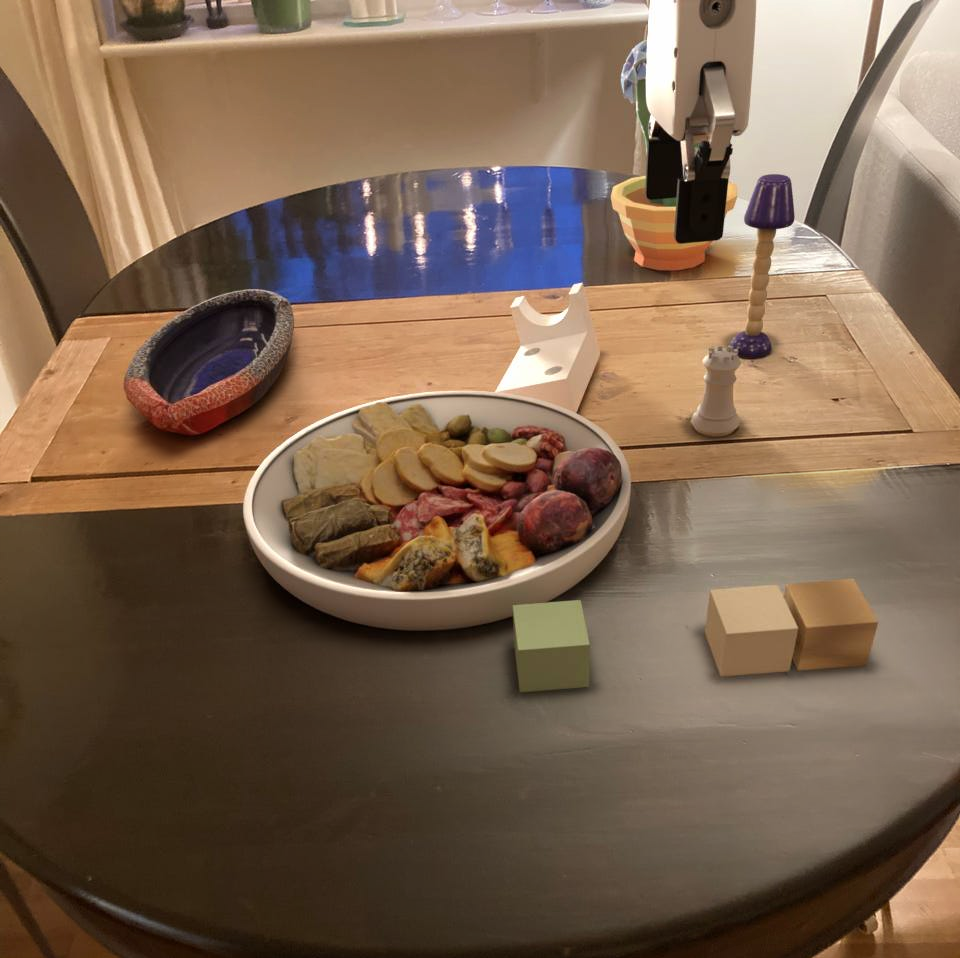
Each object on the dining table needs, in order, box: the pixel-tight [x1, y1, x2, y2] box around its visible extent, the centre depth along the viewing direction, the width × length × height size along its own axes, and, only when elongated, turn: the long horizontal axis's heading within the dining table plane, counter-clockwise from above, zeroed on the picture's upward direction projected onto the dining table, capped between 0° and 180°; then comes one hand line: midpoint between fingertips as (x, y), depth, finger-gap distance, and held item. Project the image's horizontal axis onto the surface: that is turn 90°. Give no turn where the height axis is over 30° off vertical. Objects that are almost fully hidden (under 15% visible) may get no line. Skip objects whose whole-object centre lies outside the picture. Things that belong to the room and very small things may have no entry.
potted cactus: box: [610, 38, 739, 271], centre depth 112 cm, size 15×15×25 cm
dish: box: [123, 288, 295, 436], centre depth 99 cm, size 16×31×5 cm, turn 172°
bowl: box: [242, 390, 632, 632], centre depth 75 cm, size 30×30×8 cm
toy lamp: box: [729, 173, 795, 359], centre depth 94 cm, size 5×5×17 cm
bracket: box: [494, 282, 601, 414], centre depth 93 cm, size 13×7×8 cm, turn 164°
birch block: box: [783, 578, 879, 671], centre depth 62 cm, size 4×4×4 cm
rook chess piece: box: [690, 344, 742, 438], centre depth 84 cm, size 4×4×8 cm
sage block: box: [512, 599, 591, 693], centre depth 62 cm, size 4×4×4 cm
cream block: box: [704, 584, 798, 677], centre depth 62 cm, size 4×4×4 cm
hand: (681, 217), depth 68 cm, fingers open, 9 cm apart
